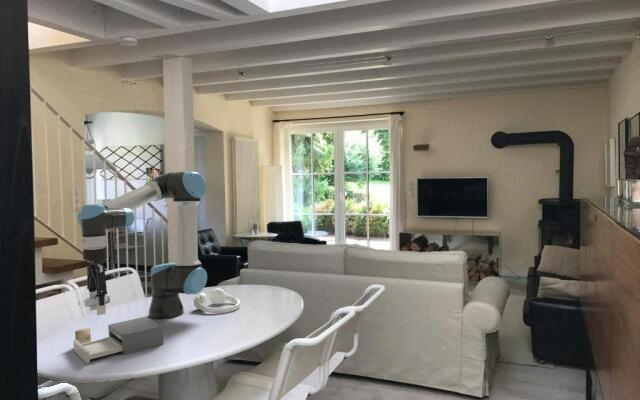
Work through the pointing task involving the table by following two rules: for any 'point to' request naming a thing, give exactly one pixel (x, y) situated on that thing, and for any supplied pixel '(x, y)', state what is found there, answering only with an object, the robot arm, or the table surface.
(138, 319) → the housing
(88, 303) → the disc
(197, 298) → the headphones
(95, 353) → the tray
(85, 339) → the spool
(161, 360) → the table surface
